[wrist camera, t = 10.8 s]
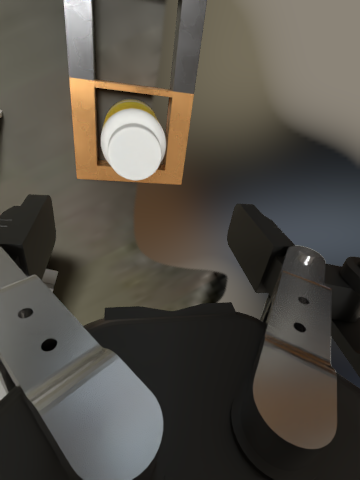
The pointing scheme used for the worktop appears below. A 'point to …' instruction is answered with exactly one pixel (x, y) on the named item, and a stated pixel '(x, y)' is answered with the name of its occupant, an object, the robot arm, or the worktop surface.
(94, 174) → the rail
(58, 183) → the worktop surface
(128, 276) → the worktop surface
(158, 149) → the supplement bottle
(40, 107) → the worktop surface
